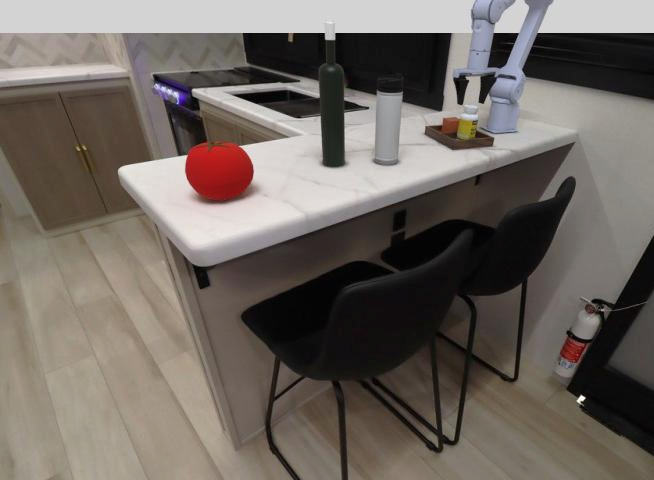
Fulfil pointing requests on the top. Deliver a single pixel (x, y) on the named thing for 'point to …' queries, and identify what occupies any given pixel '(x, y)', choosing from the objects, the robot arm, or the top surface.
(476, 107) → the supplement bottle
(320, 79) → the wine bottle
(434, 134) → the sorting tray
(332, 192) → the top surface
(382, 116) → the travel mug
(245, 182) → the tomato
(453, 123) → the terracotta block
